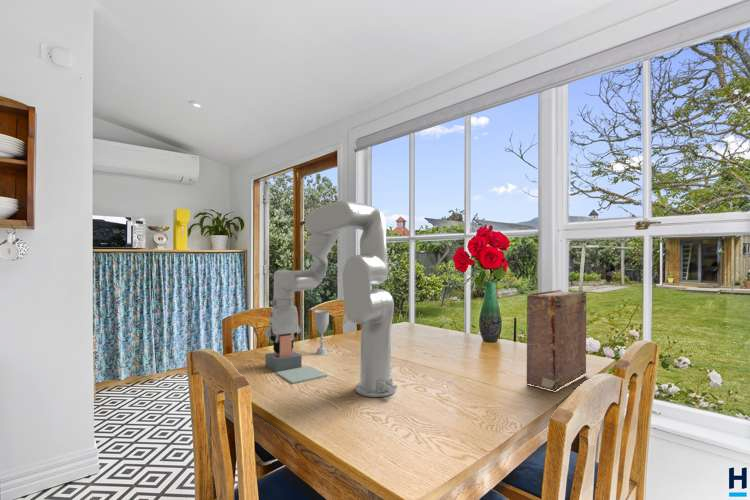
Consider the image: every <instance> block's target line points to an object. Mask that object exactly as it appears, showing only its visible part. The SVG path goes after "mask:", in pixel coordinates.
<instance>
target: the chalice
mask: <svg viewBox="0 0 750 500" xmlns="http://www.w3.org/2000/svg"><path fill="white" fill-rule="evenodd" d="M313 312H314V323H315V327H316V331H318V333H319V334H320V337H319V338H320V342H319V344H320V346H319V347H318V348H317V349H316V352H315V355H317V356H325V355H326V356H327V355H328V352H327V348H326V347H324V342H325V341H324V333H326V332H327V329H328V327H329V324H330V321H329V320H330V312H331V311H330V310H328V309H316V310H314V311H313Z"/></svg>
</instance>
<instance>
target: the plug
mask: <svg viewBox="0 0 750 500" xmlns="http://www.w3.org/2000/svg"><path fill="white" fill-rule="evenodd" d="M278 342H279V353H278V354H277V353H276V352H274V353H275V355H276V356H278V357H285V356H291V355H292V351H293V348H292V335H290V334H282V335H280V336H279V340H278Z"/></svg>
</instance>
